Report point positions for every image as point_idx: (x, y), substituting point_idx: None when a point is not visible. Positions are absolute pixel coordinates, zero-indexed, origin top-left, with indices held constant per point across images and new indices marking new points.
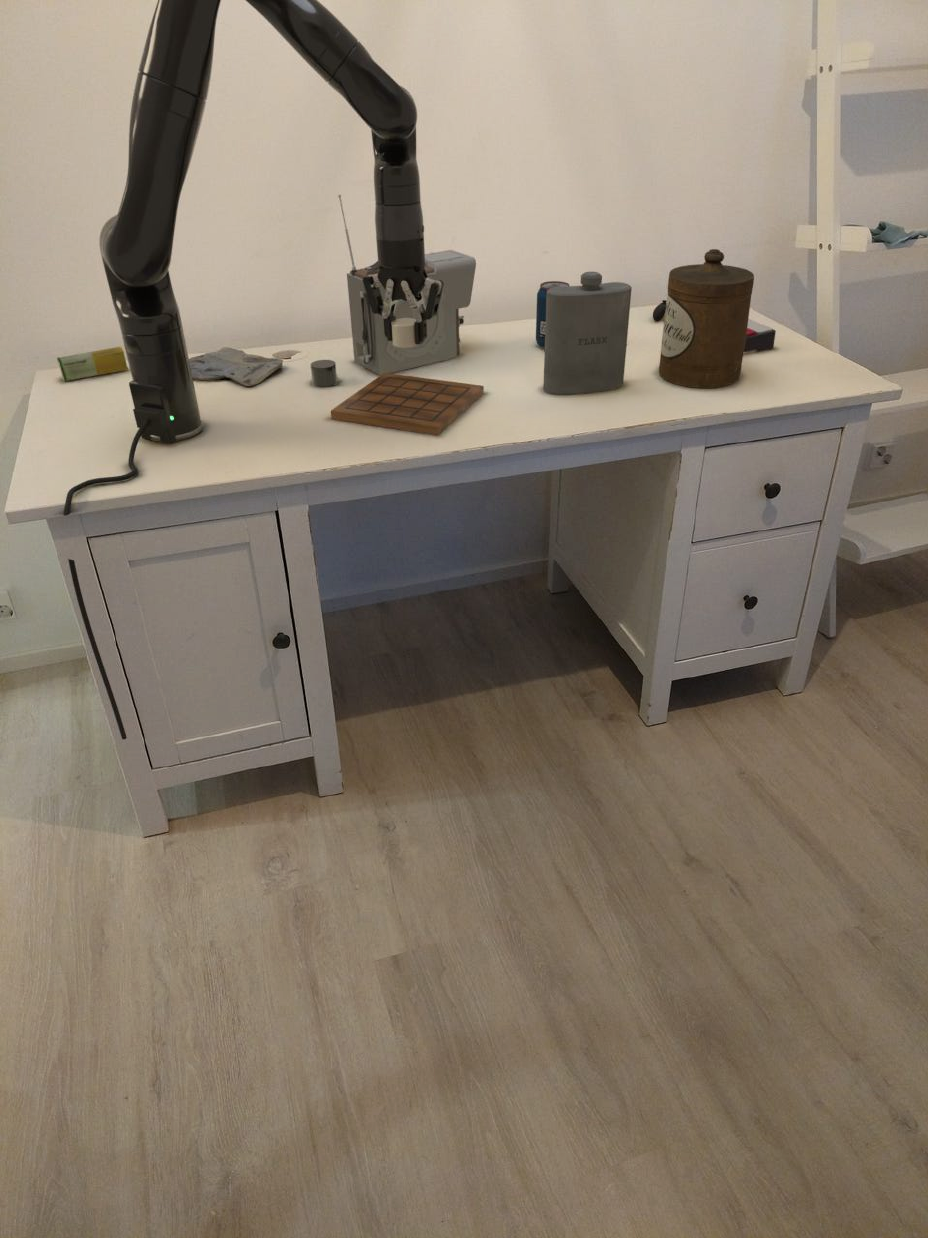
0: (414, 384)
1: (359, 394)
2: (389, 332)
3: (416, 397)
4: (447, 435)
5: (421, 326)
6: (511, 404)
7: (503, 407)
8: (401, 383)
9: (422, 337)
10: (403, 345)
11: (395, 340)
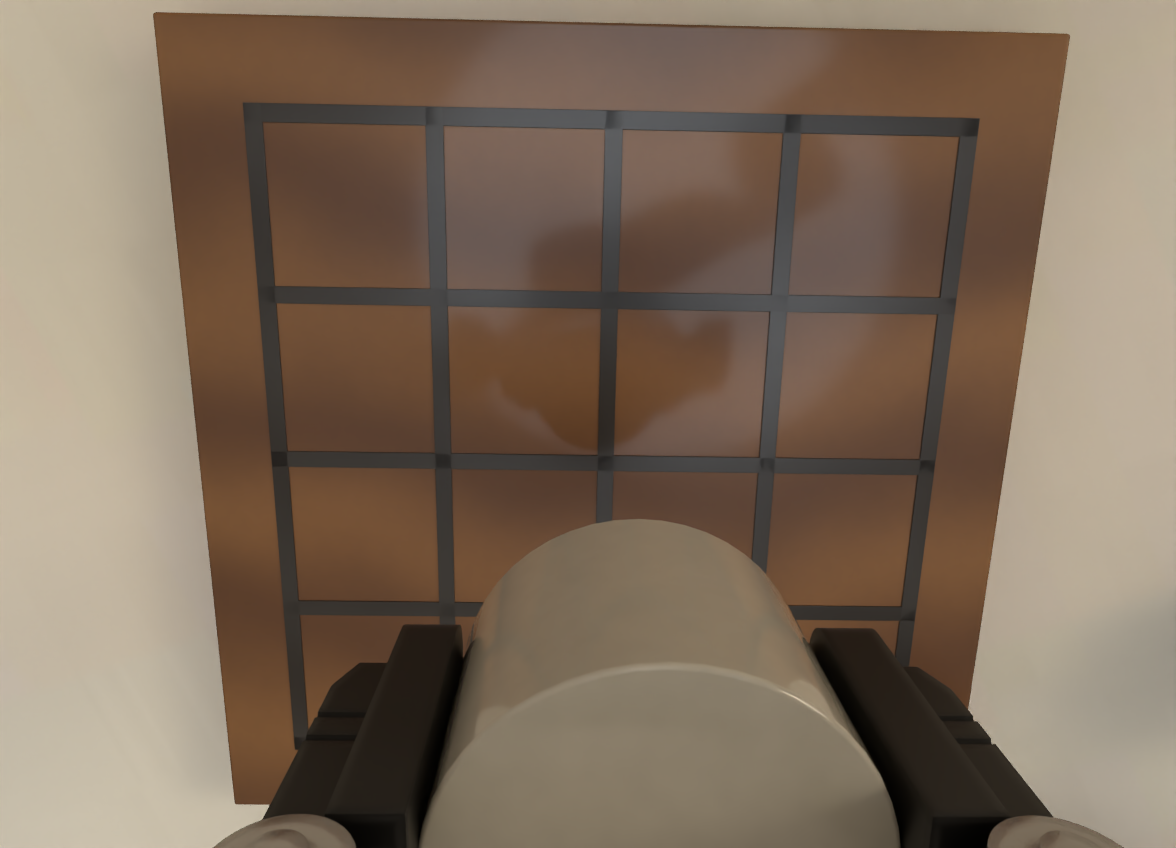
0: None
1: (973, 404)
2: (868, 680)
3: (559, 484)
4: (127, 57)
5: (300, 796)
6: (17, 675)
7: (37, 618)
8: None
9: (343, 688)
10: (592, 531)
11: (719, 560)
